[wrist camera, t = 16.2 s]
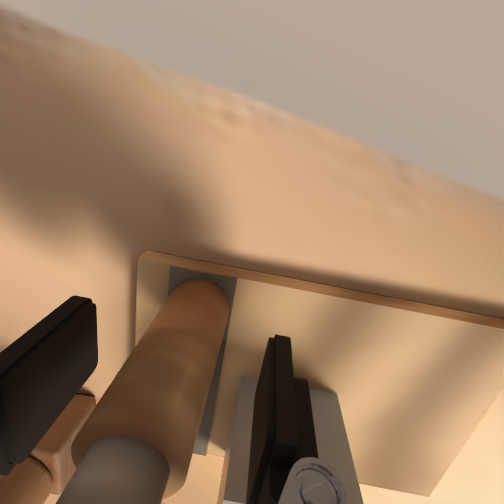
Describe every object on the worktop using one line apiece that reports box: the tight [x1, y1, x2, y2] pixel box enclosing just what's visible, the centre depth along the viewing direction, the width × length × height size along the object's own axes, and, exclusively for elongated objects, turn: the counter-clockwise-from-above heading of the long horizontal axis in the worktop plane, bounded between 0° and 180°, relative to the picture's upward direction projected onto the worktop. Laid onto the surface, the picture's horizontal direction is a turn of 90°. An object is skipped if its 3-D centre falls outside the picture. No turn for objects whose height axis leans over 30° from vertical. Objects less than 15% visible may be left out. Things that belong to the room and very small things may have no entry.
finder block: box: [217, 376, 363, 504], centre depth 13 cm, size 5×6×6 cm
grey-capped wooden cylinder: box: [56, 278, 230, 504], centre depth 9 cm, size 3×3×9 cm
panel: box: [135, 250, 504, 497], centre depth 16 cm, size 18×12×1 cm, turn 80°
